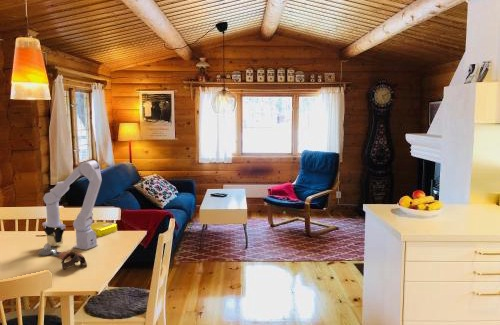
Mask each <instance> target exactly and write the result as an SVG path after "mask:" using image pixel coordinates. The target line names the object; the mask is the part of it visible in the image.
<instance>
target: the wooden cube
mask: <svg viewBox="0 0 500 325" xmlns="http://www.w3.org/2000/svg"><path fill="white" fill-rule="evenodd" d="M46 240H47V242H46V244H47V243H48V244H49V245H51V247H56V246H60V245H63V243H64V240H63V238H62V239H61V242H58V243H57V242H56V237H55V233H53V234H50V235H47V234H46Z"/></svg>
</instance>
